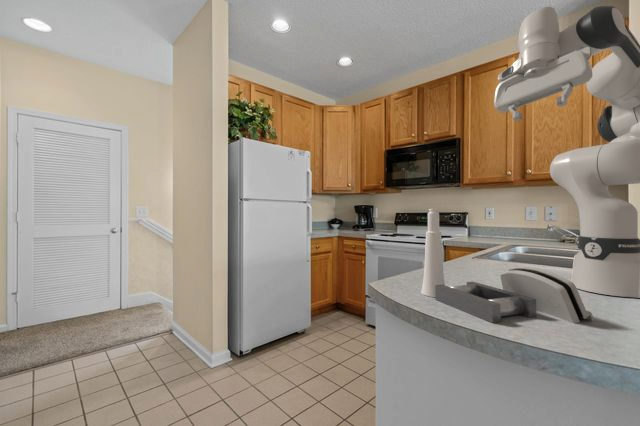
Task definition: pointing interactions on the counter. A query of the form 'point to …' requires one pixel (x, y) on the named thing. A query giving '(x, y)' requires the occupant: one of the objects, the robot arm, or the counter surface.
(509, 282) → the grey curved wedge
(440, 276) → the cosmetic bottle
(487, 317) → the grey hollow rectangular frame
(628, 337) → the counter surface
